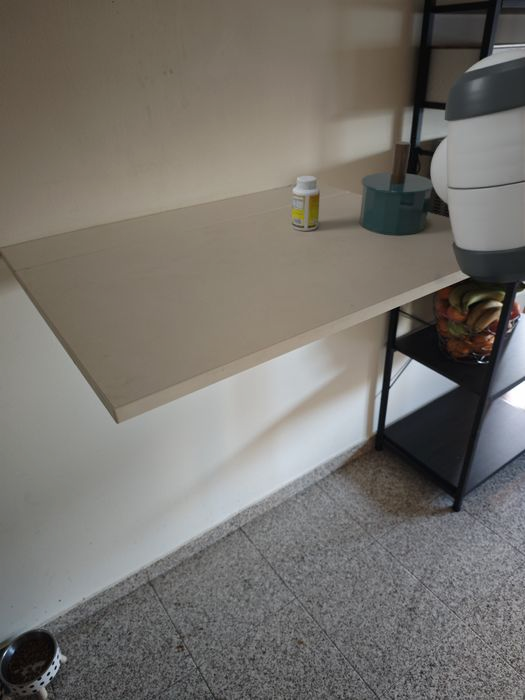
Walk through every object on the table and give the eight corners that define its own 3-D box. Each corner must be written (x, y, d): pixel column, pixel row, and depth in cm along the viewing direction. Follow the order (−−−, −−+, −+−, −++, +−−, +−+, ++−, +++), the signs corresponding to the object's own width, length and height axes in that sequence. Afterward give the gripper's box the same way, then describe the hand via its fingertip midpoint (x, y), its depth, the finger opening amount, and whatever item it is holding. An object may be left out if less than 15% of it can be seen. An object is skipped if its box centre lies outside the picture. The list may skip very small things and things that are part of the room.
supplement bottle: (318, 223, 108) (320, 174, 102) (317, 232, 103) (320, 182, 98) (292, 222, 109) (293, 174, 103) (290, 231, 104) (292, 181, 98)
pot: (426, 217, 111) (433, 178, 106) (422, 238, 100) (430, 196, 96) (364, 211, 115) (369, 173, 110) (355, 231, 104) (359, 190, 99)
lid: (434, 180, 107) (442, 137, 102) (431, 200, 95) (440, 153, 91) (366, 175, 111) (370, 134, 106) (355, 193, 99) (360, 148, 94)
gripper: (554, 128, 76) (461, 120, 82) (565, 110, 91) (485, 104, 97) (568, 81, 73) (470, 77, 79) (577, 70, 87) (494, 67, 93)
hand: (479, 92), depth 88 cm, fingers open, 8 cm apart
